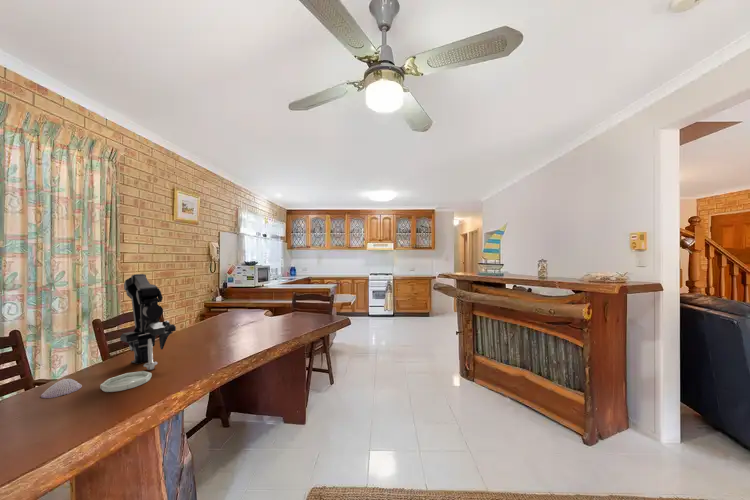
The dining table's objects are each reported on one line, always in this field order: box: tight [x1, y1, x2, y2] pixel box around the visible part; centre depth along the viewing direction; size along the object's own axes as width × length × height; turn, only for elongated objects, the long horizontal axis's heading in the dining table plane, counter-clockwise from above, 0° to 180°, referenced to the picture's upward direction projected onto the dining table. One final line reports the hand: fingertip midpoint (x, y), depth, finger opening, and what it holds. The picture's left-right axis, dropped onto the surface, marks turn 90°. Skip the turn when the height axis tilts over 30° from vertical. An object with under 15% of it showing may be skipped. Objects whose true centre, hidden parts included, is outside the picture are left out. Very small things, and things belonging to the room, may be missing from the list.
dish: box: [99, 370, 153, 393], centre depth 116 cm, size 14×14×2 cm
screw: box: [142, 339, 158, 371], centre depth 130 cm, size 13×5×5 cm
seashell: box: [40, 378, 83, 399], centre depth 111 cm, size 10×6×10 cm
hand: (150, 352), depth 130 cm, fingers open, 9 cm apart
